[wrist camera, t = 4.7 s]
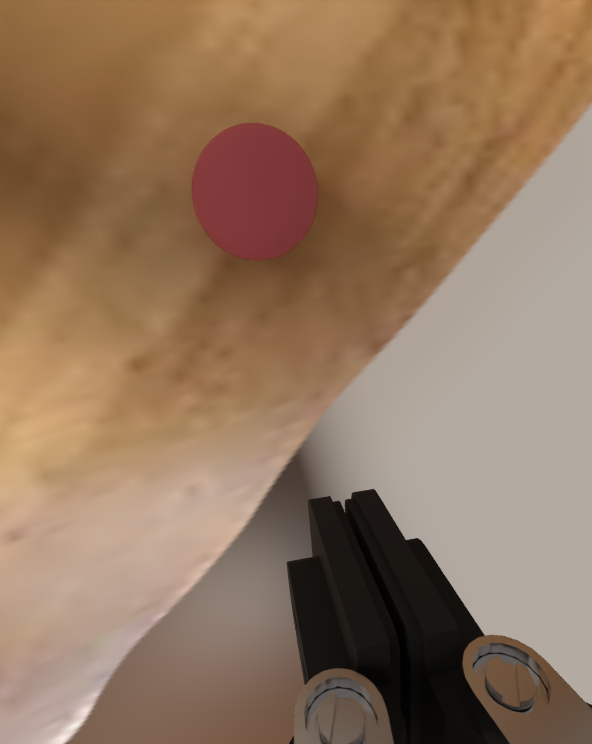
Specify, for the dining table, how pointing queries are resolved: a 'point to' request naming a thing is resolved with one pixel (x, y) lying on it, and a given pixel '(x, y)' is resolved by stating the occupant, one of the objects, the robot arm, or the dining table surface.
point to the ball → (254, 191)
